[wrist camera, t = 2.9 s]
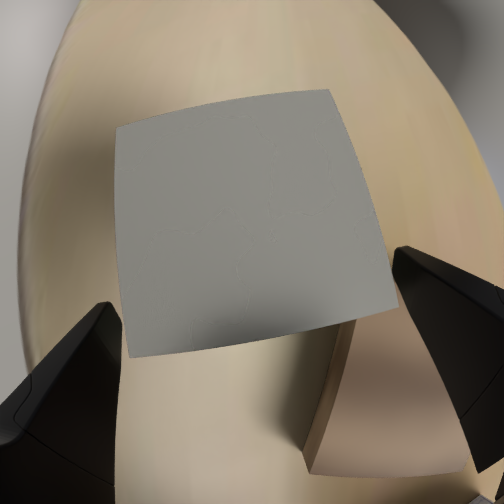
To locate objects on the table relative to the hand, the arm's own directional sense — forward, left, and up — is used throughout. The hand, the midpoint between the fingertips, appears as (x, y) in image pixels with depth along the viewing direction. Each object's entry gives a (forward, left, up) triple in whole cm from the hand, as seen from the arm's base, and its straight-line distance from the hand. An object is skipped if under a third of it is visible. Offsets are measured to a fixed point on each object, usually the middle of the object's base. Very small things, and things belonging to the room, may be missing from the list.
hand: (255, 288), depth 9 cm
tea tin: (+1, 0, -9) cm, 9 cm away
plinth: (-3, -11, -9) cm, 14 cm away
